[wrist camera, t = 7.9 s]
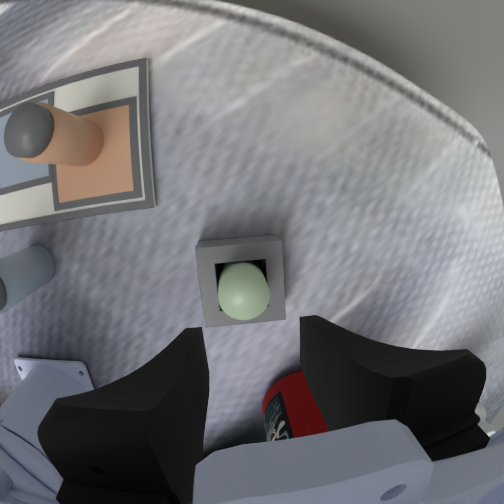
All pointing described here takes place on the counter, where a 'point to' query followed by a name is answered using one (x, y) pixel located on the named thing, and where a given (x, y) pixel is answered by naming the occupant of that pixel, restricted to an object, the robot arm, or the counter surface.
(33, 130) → the terracotta marker
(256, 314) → the button
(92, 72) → the picture card
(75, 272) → the counter surface
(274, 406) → the beverage can
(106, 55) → the counter surface
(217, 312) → the button housing
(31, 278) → the cylinder
